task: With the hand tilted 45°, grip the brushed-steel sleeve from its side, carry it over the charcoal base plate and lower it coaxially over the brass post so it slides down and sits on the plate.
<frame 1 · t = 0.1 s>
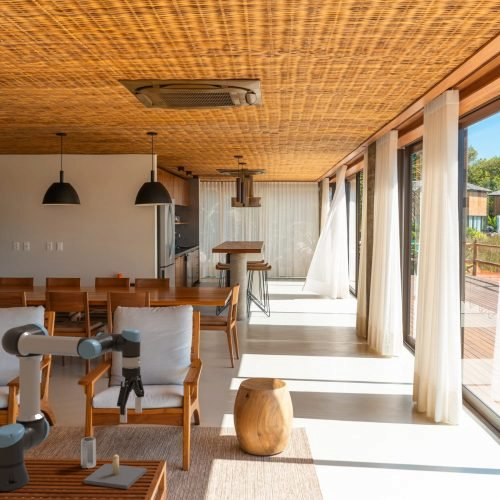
hand: (131, 417, 235), 28 cm above the table, tool pointing down, fingers open, 13 cm apart
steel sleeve: (88, 465, 254), on the table
post plate: (115, 477, 242), on the table
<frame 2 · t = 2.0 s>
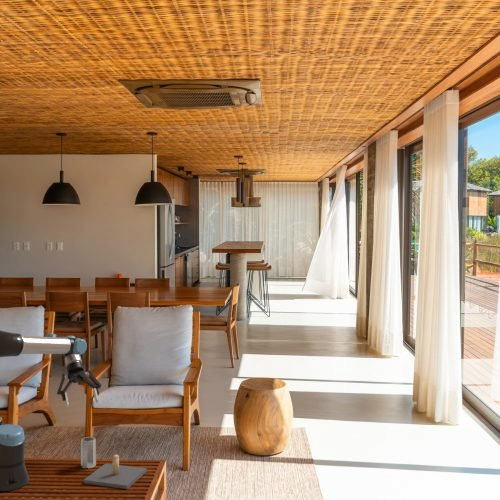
hand: (82, 403, 262), 26 cm above the table, tool tilted 45°, fingers open, 13 cm apart
nothing on the table moved.
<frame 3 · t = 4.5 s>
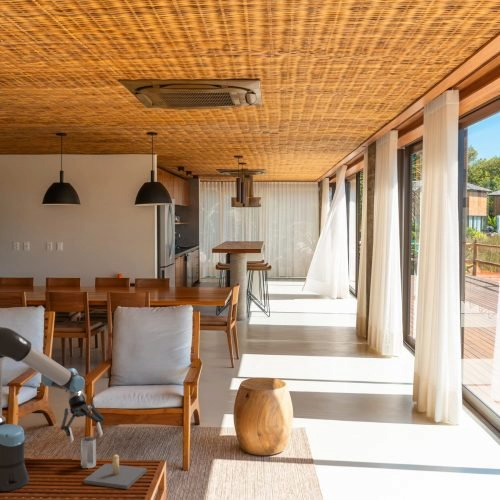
hand: (87, 438, 260), 10 cm above the table, tool tilted 45°, fingers open, 13 cm apart
nothing on the table moved.
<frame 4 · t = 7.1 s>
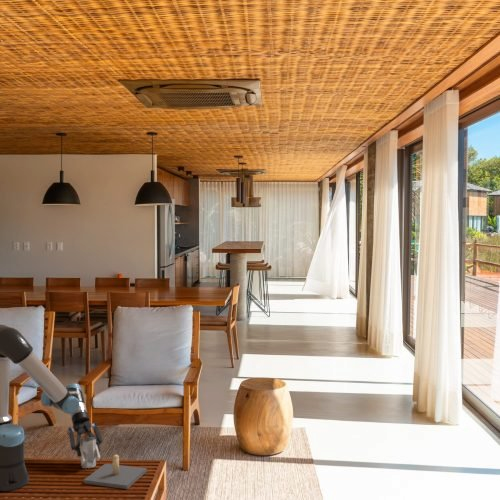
hand: (91, 460, 251), 3 cm above the table, tool tilted 45°, fingers closed on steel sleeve, 6 cm apart
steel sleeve: (88, 465, 254), on the table, touching gripper
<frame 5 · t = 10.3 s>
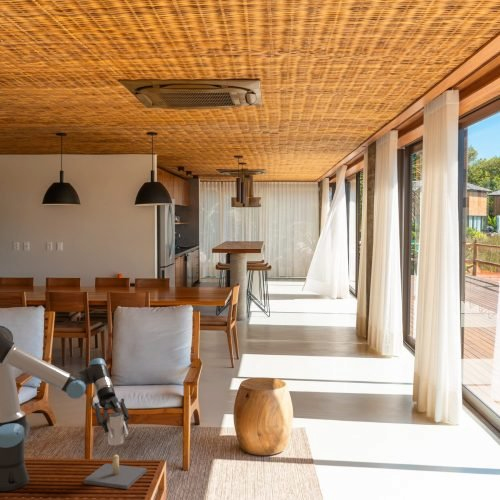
hand: (119, 437, 239), 18 cm above the table, tool tilted 45°, fingers closed on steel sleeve, 6 cm apart
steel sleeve: (115, 442, 242), point 15 cm above the table, touching gripper
when the fingers open (6 cm above the table, at t = 13.4 s): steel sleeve drops 1 cm, resting on post plate.
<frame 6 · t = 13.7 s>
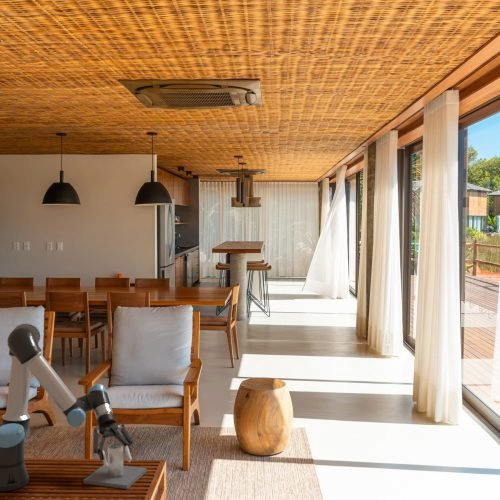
hand: (118, 463, 239), 7 cm above the table, tool tilted 45°, fingers open, 10 cm apart
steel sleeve: (115, 473, 242), point 2 cm above the table, touching post plate
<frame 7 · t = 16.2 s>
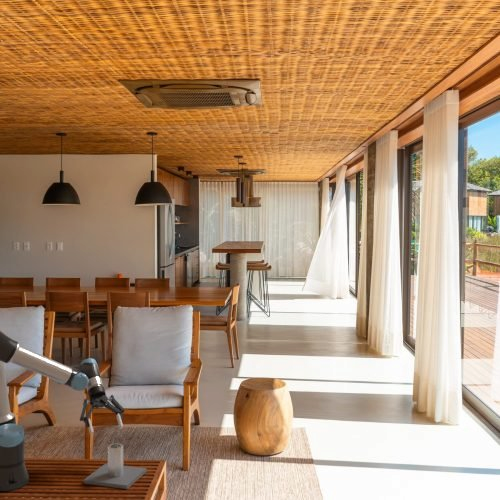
hand: (107, 430, 250), 17 cm above the table, tool tilted 45°, fingers open, 13 cm apart
nothing on the table moved.
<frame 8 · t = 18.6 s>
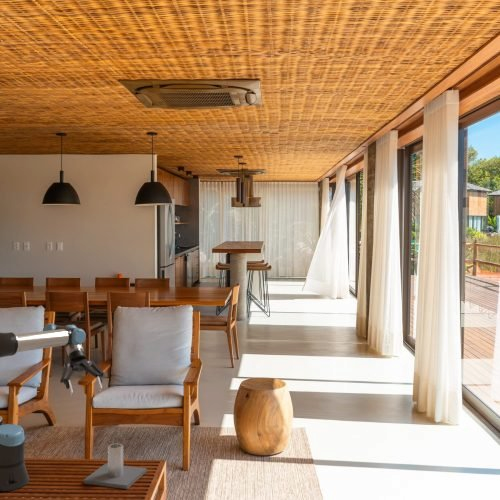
hand: (86, 391, 260), 32 cm above the table, tool tilted 45°, fingers open, 13 cm apart
nothing on the table moved.
at the end: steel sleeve 0.1 cm from the post plate (horizontally); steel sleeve point 1.5 cm above the table; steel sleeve tilted 0° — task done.
